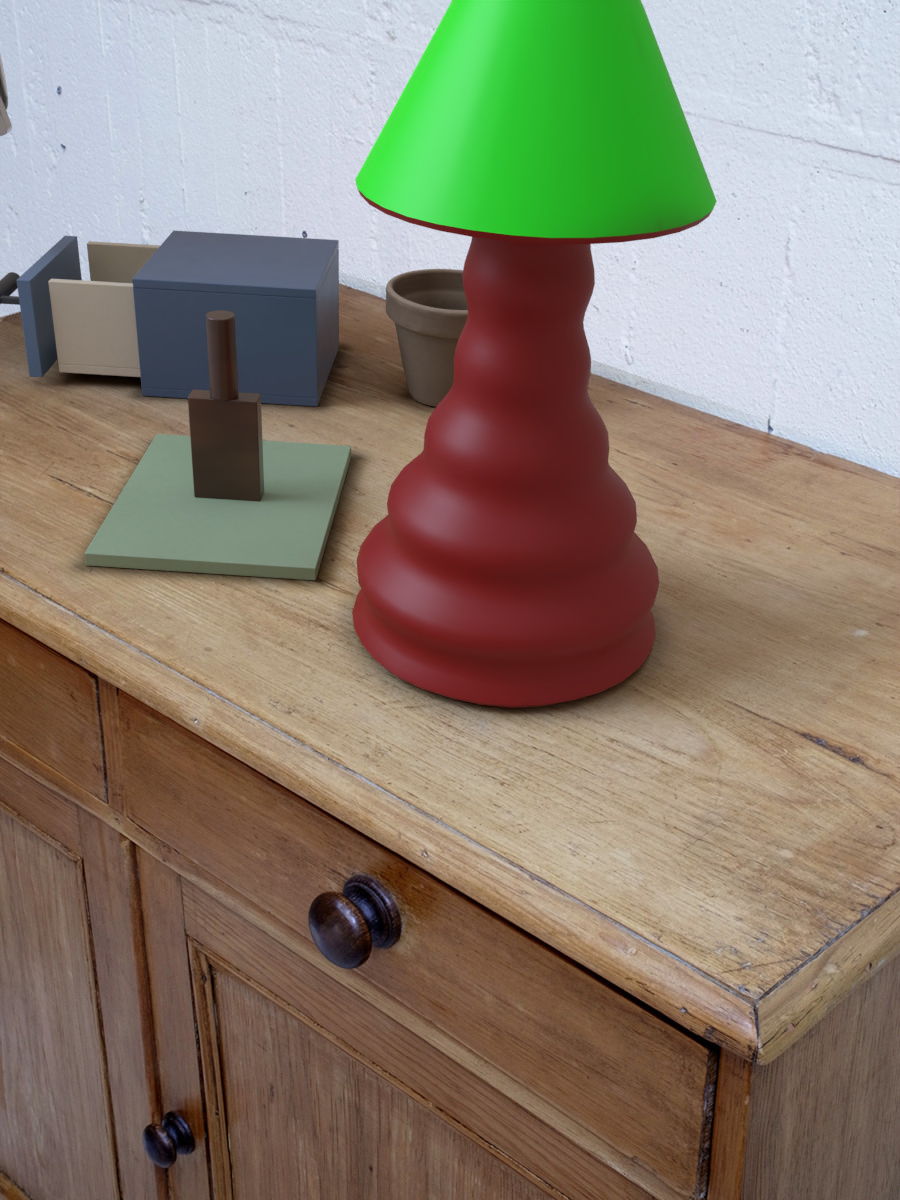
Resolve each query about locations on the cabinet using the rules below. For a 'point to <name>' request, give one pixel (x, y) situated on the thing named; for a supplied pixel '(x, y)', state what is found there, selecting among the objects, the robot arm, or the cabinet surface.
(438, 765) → the cabinet surface
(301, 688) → the cabinet surface
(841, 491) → the cabinet surface
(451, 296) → the flower pot
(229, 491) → the paddle
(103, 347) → the drawer
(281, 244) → the cabinet
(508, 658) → the table lamp
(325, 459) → the mat
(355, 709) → the cabinet surface
